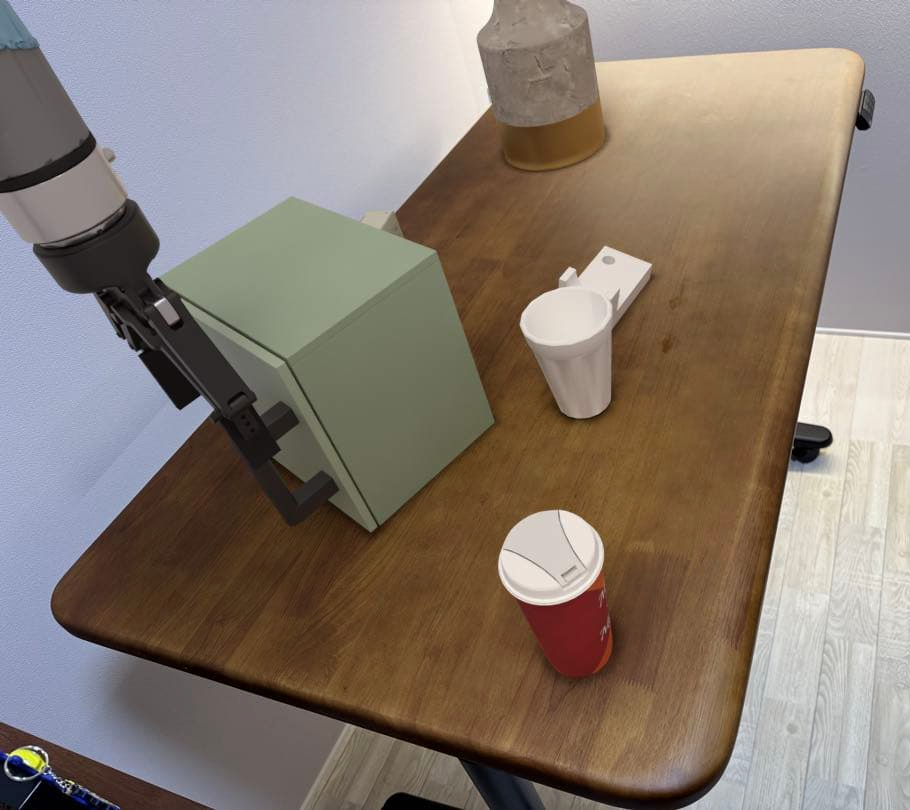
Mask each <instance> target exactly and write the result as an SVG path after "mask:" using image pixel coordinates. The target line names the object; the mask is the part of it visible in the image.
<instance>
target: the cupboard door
mask: <svg viewBox="0 0 910 810" xmlns="http://www.w3.org/2000/svg"><path fill="white" fill-rule="evenodd" d="M181 301H182V302H183V303H184V305H185V306H186V308H187V309H188V311H189V312H190V314H191V315H192V317H193V318H194V319H195V321H196V322H197V323H198V324H199V326H200V327H201V328H202V329H203V331H204V332H205V333H206V334H207V336H208V337H209V338H210V339H211V341H212V342H213V343H214V344H215V346H216V347H217V348H218V349H219V351H220V352H221V353H222V355H223V356H224V357H225V358H226V360H227V361H228V362H229V363H230V365H231V366H232V367H233V368H234V370H235V371H236V372H237V373H238V375H239V376H240V377H241V378H242V380H243V381H244V382H245V383H246V385H247V386H248V387H249V389H250V390H252V391H253V392H254V393H255V395H256V397H257V401H256V402H254V403H253V404H252V405H253V407H254V408H255V410H256V411H257V413H258V414H259V416H260V418H261V419H262V421H263V422H264V424H265V425H266V427H267V428H268V430H269V432H270V433H271V435H272V436H273V438H274V439H275V441H276V442H277V444H278V446H279V447H280V449H281V451H280V452H278V453H277V454H276V455H275V456H273V457H272V459H274V460H275V461H276V462H278V463H279V464H280V465H281V466H283V467H284V468H285V469H287V470H288V471H289V472H290V473H292V474H293V475H294V476H296V477H297V478H298V479H300V481H303V482H304V483H303V485H301V486H300V487H299V488H297V489H296V490H295V491H294V492H293V493H292V492H291V490H290V489H289V487H288V485H287V484H286V483H285V481H284V479H283V478H282V477H281V475H280V473H279V472H278V470H277V469H276V467H275V466H274V464H273V462H272V461H271V459H270V460H268V461H267V462H266V463H265V464H263V465H262V466H261V467H259V468H258V469H257V470H256V471H254V470H253V469H252V468H251V467H250V466H249V465H248V463H247V462H246V460H245V459H244V457H243V456H242V455H241V453H240V452H239V450H238V449H237V447H236V446H235V445H234V443H233V442H232V440H231V439H230V444H231V446H232V448H233V449H234V450H235V452H236V453H237V455H238V456H239V457H240V459H241V460H242V462H243V464H244V465H245V466H246V467H247V469H248V470H249V472H250V473H251V475H252V476H253V478H254V479H255V480H256V482H257V484H258V485H259V486H260V488H261V490H262V491H263V492H264V493H265V495H266V497H267V498H268V500H269V501H270V502H271V504H272V505H273V506H274V508H275V509H276V511H277V512H278V514H279V516H280V517H281V518H282V520H283V521H284V523H286V525H287V526H289V527H297V526H298V525H301V524H302V523H303V522H304V521H306V519H308V518H309V517H310V516H311V515H312V514H313V513H314V512H316V511H317V510H318V509H320V507H321V506H323V505H324V504H325V503H327V502H328V501H329V502H330V503H331V504H333V505H334V506H335V507H336V508H338V509H339V510H340V511H342V512H343V513H344V514H346V515H347V516H348V517H349V518H351V519H352V520H354V521H355V522H356V523H357V524H358V525H360V526H361V527H363V528H364V529H365V530H367V531H368V532H369V533H372V532H374V531H375V530H376V529H377V528H378V524H377V523H376V522H375V521H374V519H373V517H372V516H371V514H370V512H369V510H368V508H367V507H366V505H365V503H364V501H363V500H362V498H361V496H360V494H359V492H358V491H357V489H356V487H355V485H354V484H353V482H352V480H351V478H350V476H349V475H348V473H347V471H346V469H345V468H344V466H343V464H342V462H341V460H340V459H339V457H338V455H337V453H336V452H335V450H334V448H333V446H332V445H331V443H330V441H329V439H328V437H327V436H326V434H325V432H324V430H323V429H322V427H321V425H320V423H319V421H318V420H317V418H316V416H315V414H314V413H313V411H312V409H311V407H310V405H309V404H308V402H307V400H306V398H305V397H304V395H303V393H302V391H301V389H300V388H299V386H298V384H297V382H296V381H295V379H294V377H293V375H292V374H291V372H290V370H289V368H288V366H287V365H286V363H285V362H284V361H283V360H281V359H279V358H278V357H276V356H274V355H273V354H271V353H270V352H268V351H266V350H265V349H263V348H261V347H260V346H258V345H257V344H255V343H253V342H252V341H250V340H248V339H247V338H245V337H244V336H242V335H240V334H239V333H237V332H236V331H234V330H232V329H231V328H229V327H227V326H226V325H224V324H223V323H221V322H219V321H218V320H216V319H214V318H213V317H211V316H210V315H208V314H206V313H205V312H203V311H201V310H200V309H198V308H197V307H195V306H193V305H192V304H190V303H188V302H187V301H185V300H184V299H182V298H181Z"/></svg>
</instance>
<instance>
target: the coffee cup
mask: <svg viewBox="0 0 910 810" xmlns="http://www.w3.org/2000/svg"><path fill="white" fill-rule="evenodd" d="M604 561H605V550H604V544H603V541H602V539H601V537H600V535H599V533H598V532H597V530H596V529H595V528H594V527H593V526H592V525H590V524H589V523H588V522H587V521H586V520H585V519H583V518H582V517H580V516H579V515H577V514H575V513H573V512H570V511H568V510H563V509H551V510H543V511H539V512H535V513H532V514H530V515H528V516H526V517H524V518H522V519H521V520H520V521H519V522H517V523H516V524H515V525H514V526H513V527H512V528H511V530H510V531H509V532H508V533H507V534H506V538H505V539H504V542H503V544H502V547H501V549H500V552H499V556H498V562H497V565H498V567H497V568H498V569H497V570H498V575H499V578H500V580H501V583H502V584H503V587H505V589H506V590H507V592H509V593H510V594H511V595H512V596H513V597H514V599H515V601H516V602H517V604H518V606H519V608H520V611H522V613H523V616H524V618H525V620H526V621H527V623H528V625H529V628H530V629H531V631H532V633H533V635H534V636H535V638H536V640H537V642H538V644H539V646H540V648H541V649H542V652H543V653H544V655H545V657H546V658H547V660H548V662H549V663H550V665H551V666H552V667H553V668H554V669H555V670H556V671H557V672H558V673H559V674H561V675H562V676H563V675H564V676H566V677H568V678H569V677H570V678H585V677H588V676H589V677H590V676H591V675H593V674H595V673H597V672H599V671H600V670H601V669H603V667H604V666H605V665H606V664H607V663H608V661H609V659H610V657H611V654H612V653H613V632H612V624H611V623H612V622H611V617H610V610H609V603H608V598H607V590H606V583H605V577H604V576H605V575H604V571H603V570H604V569H603V565H604Z"/></svg>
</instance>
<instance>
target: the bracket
mask: <svg viewBox="0 0 910 810" xmlns="http://www.w3.org/2000/svg"><path fill="white" fill-rule="evenodd" d="M652 268H653V263H651V262H648V261H645V260H642V259H640V258H638V257H636V256H635V257H634V256H633V255H630V254H627V253H625V252H623V251H619V250H617V249H615V248H612V247H610V246H607V245H604V246H603V247H602V248H601V250H600V251H599V252H598V254H596V256H595V257H594V258H593V259H592V261H591V262H590V263H589V264H588V265H587V266H586V267H585V269H584V270H583V271H582V272H581V274H580V275H579V276H578V274H577V269H576V268H573V267H572V266H568V268H567V269H566V270H565V271H564V272H563V273H562V275H561V276H560V277H559V278H558V288H563V287H572V286H581V287H587V288H593V289H595V290H597V291H599V292H601V293H603V294H605V295H606V296H607V298H608V299H609V301H610V302H611V304H612V309H613V323H612V330H613V329H614V327H616V325H617V323H619V321H620V319H621V318H622V317H623V316H624V314H625V313H626V312H627V310H628V309H629V307H630V306H631V305H632V304H633V302H634V301H635V299H636V298H637V297H638V295H640V293H641V291H642V290H643V289H644V287H645V286H646V285H647V283H648V282H649V281H650V279H651V274H652Z"/></svg>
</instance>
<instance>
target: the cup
mask: <svg viewBox="0 0 910 810" xmlns="http://www.w3.org/2000/svg"><path fill="white" fill-rule="evenodd" d="M612 323H613V309H612V304H611V302H610V301H609V299H608V298H607V296H606V295H605V294H603V293H601V292H599V291H597V290H595V289H593V288H587V287H581V286H572V287H563V288H559V287H558V288H555V289H553V290H549V291H547V292H544V293H542V294H541V295H539V296H538V297H536V298H534V299H533V300H532V301H531V302H529V304H528V305H527V307H526V308H525V309H524V310H523V311H522V313H521V316H520V321H519V327H520V329H521V332H522V334H523V337H524V339H525V341H526V343H527V345H528V347H529V348H530V349H531V351H532V353H533V355H534V357H535V359H536V362H537V364H538V366H539V368H540V370H541V372H542V374H543V376H544V378H545V381H546V383H547V385H548V386H549V390H550V391H551V393H552V395H553V397H554V400H555V402H556V403H557V406H558V408H559V410H560V412H561V413H563V414H564V415H566V416H567V417H568V418H574V419H589V418H592V417H595V416H597V415H599V414H601V413H602V412H603V411H605V410H606V409H607V408H608V406H609V405H610V403H611V400H612V331H613V329H612Z"/></svg>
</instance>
